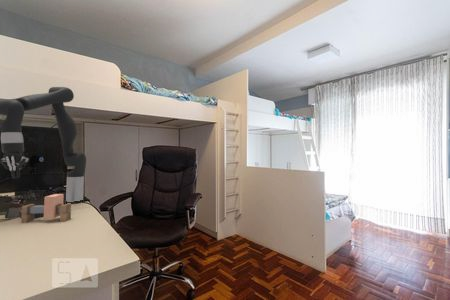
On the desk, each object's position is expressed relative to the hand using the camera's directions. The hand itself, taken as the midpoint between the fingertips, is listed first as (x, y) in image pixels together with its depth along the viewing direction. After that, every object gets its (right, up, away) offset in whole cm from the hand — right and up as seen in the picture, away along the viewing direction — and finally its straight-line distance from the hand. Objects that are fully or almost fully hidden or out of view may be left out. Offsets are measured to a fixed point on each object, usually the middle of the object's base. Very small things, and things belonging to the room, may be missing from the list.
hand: (15, 178), depth 100 cm
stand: (+16, -20, -1) cm, 26 cm away
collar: (+19, -18, -1) cm, 26 cm away
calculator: (+5, -21, +9) cm, 23 cm away
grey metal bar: (+16, -16, -1) cm, 23 cm away
